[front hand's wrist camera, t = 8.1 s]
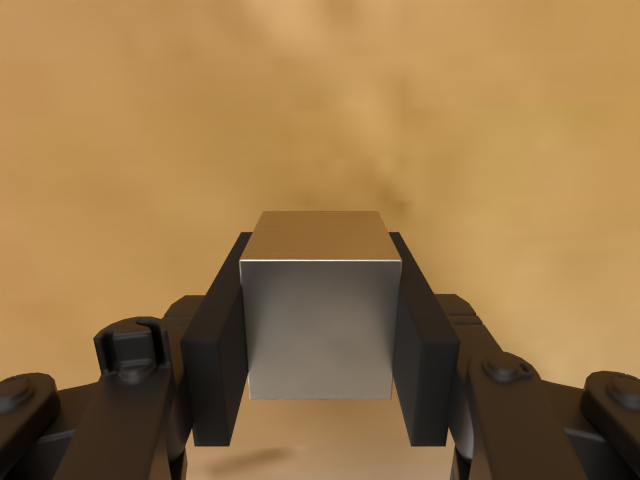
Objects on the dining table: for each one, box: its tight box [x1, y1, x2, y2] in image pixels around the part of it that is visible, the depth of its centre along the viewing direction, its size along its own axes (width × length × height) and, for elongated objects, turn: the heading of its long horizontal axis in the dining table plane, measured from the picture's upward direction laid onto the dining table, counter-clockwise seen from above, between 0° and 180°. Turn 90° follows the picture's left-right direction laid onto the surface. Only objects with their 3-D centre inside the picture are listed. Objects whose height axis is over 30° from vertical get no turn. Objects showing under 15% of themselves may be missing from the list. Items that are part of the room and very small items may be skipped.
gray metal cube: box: [239, 211, 402, 400], centre depth 13 cm, size 4×4×4 cm
